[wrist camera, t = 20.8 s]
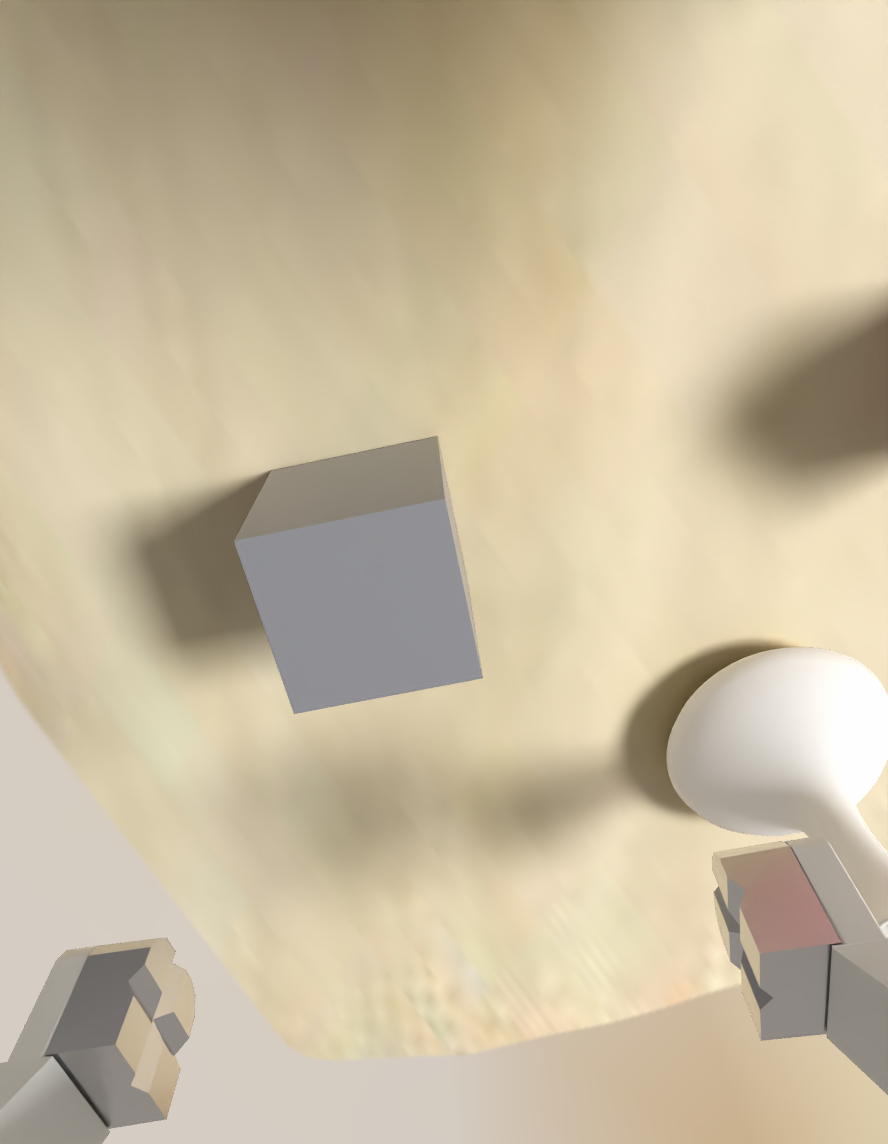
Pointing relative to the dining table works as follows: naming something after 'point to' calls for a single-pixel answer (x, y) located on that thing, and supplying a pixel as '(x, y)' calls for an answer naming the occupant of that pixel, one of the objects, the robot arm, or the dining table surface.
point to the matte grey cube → (361, 576)
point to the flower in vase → (789, 755)
